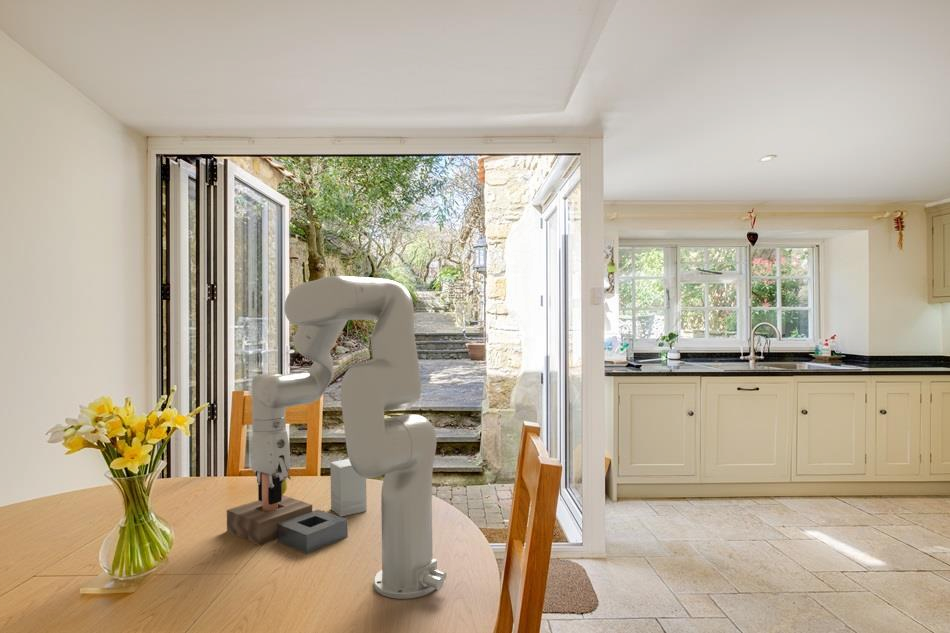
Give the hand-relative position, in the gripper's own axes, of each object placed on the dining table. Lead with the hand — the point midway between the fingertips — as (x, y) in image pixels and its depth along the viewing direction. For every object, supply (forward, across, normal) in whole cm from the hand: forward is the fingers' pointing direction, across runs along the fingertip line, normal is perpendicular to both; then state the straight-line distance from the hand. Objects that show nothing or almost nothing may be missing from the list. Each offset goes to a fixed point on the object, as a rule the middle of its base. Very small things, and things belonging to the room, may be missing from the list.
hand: (270, 500), depth 128 cm
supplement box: (+7, -6, -19) cm, 21 cm away
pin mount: (+7, -14, -2) cm, 16 cm away
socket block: (+7, 0, 0) cm, 7 cm away
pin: (+5, 0, 0) cm, 5 cm away
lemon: (+7, +18, -13) cm, 23 cm away
